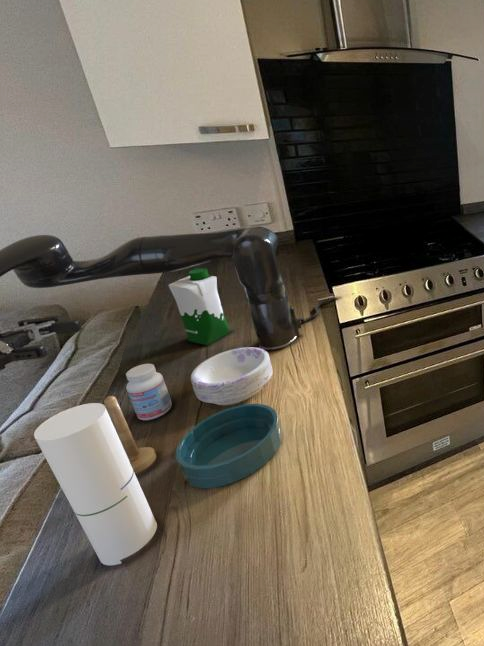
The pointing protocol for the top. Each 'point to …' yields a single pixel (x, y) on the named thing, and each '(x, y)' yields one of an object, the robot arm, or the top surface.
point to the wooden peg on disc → (129, 438)
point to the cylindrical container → (97, 480)
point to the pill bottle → (147, 392)
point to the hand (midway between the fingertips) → (62, 337)
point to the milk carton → (200, 307)
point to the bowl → (229, 445)
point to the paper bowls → (232, 376)
